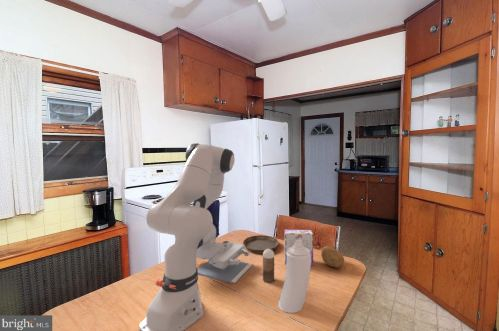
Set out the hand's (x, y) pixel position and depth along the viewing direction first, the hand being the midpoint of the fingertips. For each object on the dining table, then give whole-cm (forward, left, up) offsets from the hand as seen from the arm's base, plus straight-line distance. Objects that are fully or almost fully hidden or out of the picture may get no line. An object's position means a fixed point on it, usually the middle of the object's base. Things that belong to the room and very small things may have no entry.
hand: (244, 258), depth 114 cm
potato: (+25, -36, -8) cm, 45 cm away
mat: (0, +11, -8) cm, 13 cm away
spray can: (-12, -27, -8) cm, 30 cm away
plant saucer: (+31, +5, -8) cm, 32 cm away
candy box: (+21, -20, -8) cm, 30 cm away
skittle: (0, -12, -8) cm, 14 cm away
